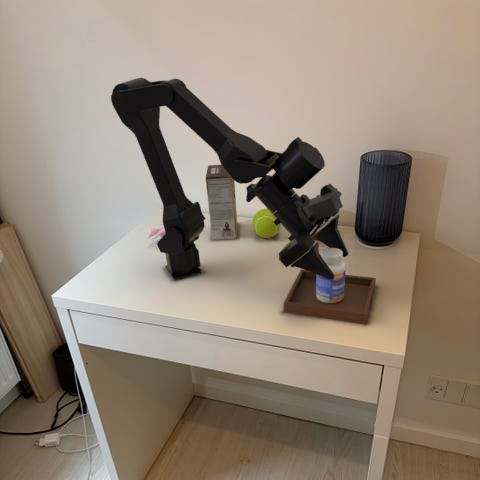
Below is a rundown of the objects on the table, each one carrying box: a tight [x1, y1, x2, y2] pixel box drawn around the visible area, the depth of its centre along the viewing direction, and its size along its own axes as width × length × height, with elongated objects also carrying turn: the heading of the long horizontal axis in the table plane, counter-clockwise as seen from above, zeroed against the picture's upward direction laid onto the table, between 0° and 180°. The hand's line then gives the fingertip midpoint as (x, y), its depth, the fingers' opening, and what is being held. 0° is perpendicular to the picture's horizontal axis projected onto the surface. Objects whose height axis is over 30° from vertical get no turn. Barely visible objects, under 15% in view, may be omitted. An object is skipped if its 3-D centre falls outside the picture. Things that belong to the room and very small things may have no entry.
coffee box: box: [205, 164, 238, 241], centre depth 120 cm, size 9×6×16 cm
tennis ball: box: [251, 208, 282, 239], centre depth 119 cm, size 7×7×7 cm
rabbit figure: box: [147, 223, 166, 240], centre depth 122 cm, size 6×6×15 cm
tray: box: [283, 268, 377, 325], centre depth 95 cm, size 15×13×2 cm
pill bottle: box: [316, 247, 347, 303], centre depth 92 cm, size 5×5×10 cm
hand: (340, 266), depth 91 cm, fingers open, 9 cm apart
